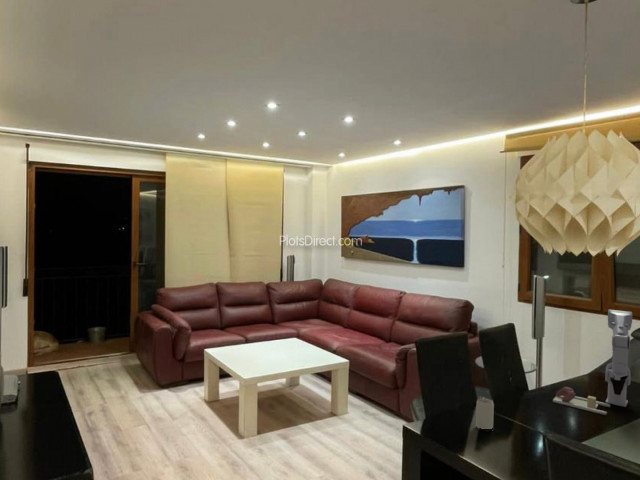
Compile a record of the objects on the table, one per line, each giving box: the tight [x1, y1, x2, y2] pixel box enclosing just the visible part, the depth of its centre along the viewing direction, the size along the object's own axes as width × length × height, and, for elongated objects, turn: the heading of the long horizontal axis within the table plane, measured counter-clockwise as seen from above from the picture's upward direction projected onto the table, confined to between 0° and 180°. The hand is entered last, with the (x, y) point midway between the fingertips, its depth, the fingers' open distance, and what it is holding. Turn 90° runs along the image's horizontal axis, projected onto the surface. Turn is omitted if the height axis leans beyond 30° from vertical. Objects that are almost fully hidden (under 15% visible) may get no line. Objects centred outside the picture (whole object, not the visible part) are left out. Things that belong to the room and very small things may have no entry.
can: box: [475, 396, 495, 429], centre depth 173 cm, size 6×6×12 cm
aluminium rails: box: [552, 395, 611, 416], centre depth 203 cm, size 13×21×1 cm, turn 50°
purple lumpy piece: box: [555, 386, 576, 402], centre depth 207 cm, size 10×5×7 cm, turn 168°
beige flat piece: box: [553, 395, 599, 409], centre depth 205 cm, size 10×17×4 cm, turn 50°
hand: (618, 392), depth 194 cm, fingers open, 7 cm apart
